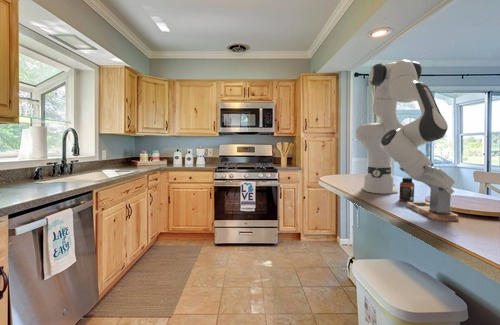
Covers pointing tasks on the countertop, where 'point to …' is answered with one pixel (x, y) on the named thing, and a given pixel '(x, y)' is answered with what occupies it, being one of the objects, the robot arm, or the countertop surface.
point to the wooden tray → (424, 209)
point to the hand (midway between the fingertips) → (442, 190)
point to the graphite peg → (439, 201)
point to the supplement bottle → (406, 190)
